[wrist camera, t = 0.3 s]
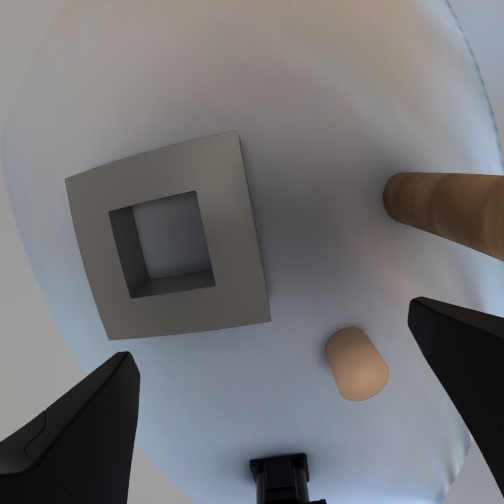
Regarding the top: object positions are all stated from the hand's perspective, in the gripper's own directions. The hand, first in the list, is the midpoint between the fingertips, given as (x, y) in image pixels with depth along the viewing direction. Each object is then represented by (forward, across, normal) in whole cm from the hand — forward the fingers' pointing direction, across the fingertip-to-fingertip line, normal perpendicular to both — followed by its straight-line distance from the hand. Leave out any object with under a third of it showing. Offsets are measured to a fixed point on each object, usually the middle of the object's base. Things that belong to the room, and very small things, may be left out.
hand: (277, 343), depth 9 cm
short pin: (+12, -7, +11) cm, 18 cm away
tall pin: (+13, -13, -1) cm, 18 cm away
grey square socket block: (+14, +5, 0) cm, 15 cm away
